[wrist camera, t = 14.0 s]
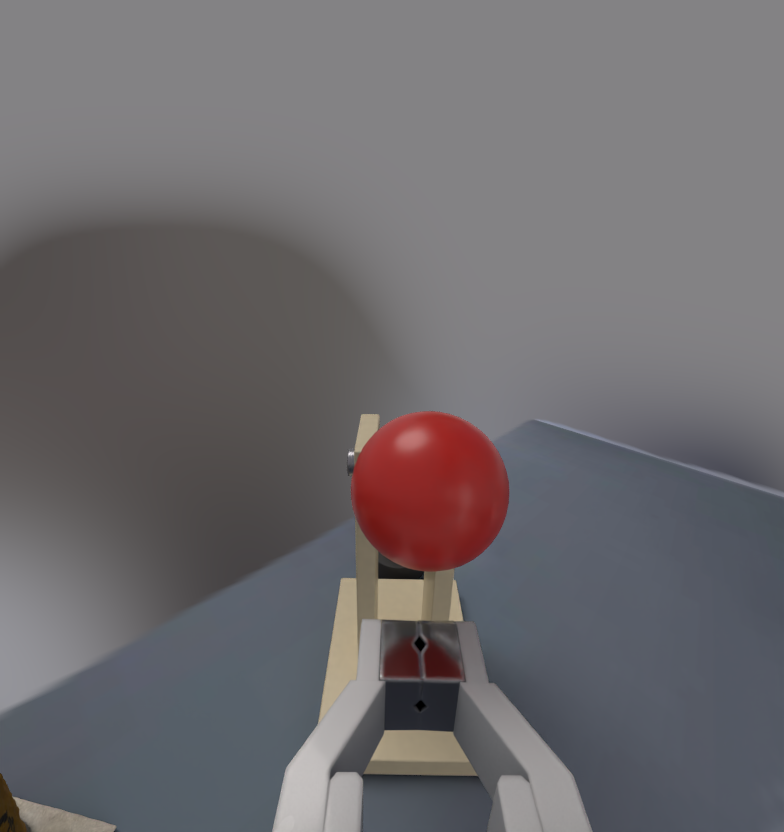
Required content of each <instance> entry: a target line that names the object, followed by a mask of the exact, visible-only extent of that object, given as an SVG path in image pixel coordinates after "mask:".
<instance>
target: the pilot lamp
mask: <svg viewBox="0 0 784 832" xmlns="http://www.w3.org/2000/svg"><path fill="white" fill-rule="evenodd" d="M423 573H424V571H418V570H413V569H409V568H406V567H403V566H401V565H399V564H396V563H394V562H393V561H391V560H389V559H388V558H386V557H385V556H383V555H382V554H381V553H380V552H379V551H378V578H379V579H416V580H417V579H418V578H419V577H421V575H422V574H423Z"/></svg>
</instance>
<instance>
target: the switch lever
mask: <svg viewBox="0 0 784 832" xmlns="http://www.w3.org/2000/svg"><path fill="white" fill-rule="evenodd" d="M351 500H352V506H353V510H354V514H355V517H356V520H357V522H358V524H359V526H360V529H361V530H362V532H363V533H364V535H365V537H366V538H367V540H368V541H369V542H370V543H371V544H372V546H373V547H374V548H375V549H377V550H378V551H379V552H380V553H381V554H382V555H383V556H385V557H386V558H388V559H389V560H391V561H393V562H394V563H396V564H399V565H401V566H403V567H406V568H409V569H413V570H418V571H426V572H436V571H445V570H450V569H453V568H456V567H459V566H462V565H464V564H466V563H468V562H470V561H472V560H473V559H475V558H476V557H477V556H479V555H480V554H481V553H483V552H484V550H485V549H486V548H487V547H488V546H489V545H490V544H491V543H492V542H493V540H494V539H495V538H496V536H497V535H498V533H499V531H500V529H501V527H502V525H503V522H504V520H505V517H506V513H507V508H508V504H509V481H508V477H507V472H506V469H505V466H504V463H503V460H502V458H501V456H500V454H499V452H498V451H497V449H496V448H495V446H494V445H493V443H492V442H491V441H490V440H489V439H488V437H487V436H486V435H485V434H484V433H483V432H481V431H480V430H479V429H478V428H477V427H475V426H474V425H472V424H471V423H469V422H468V421H466V420H464V419H462V418H459V417H457V416H454V415H450V414H447V413H442V412H435V411H422V412H415V413H410V414H407V415H404V416H401V417H398V418H396V419H394V420H392V421H390V422H389V423H387V424H386V425H384V426H383V427H381V428H380V429H379V430H378V431H377V432H375V433H374V435H373V436H372V437H371V438H370V439H369V440H368V441H367V443H366V444H365V446H364V447H363V448H362V450H361V452H360V454H359V456H358V458H357V461H356V464H355V467H354V470H353V475H352V482H351Z"/></svg>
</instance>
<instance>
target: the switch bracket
mask: <svg viewBox="0 0 784 832" xmlns="http://www.w3.org/2000/svg"><path fill="white" fill-rule="evenodd" d="M379 419H380V418H379V415H378V414H377V415H376V414H374V415H373V414H362V415H361V419H360V424H359V429H358V434H357V440H356V445H355V449H349V451H348V457H347V473H348V476H352V475H353V470H354V467H355V464H356V461H357V458H358V456H359V454H360V452H361V450H362V448H363V447H364V446H365V444H366V443H367V441H368V440H369V439H370V438H371V437H372V436H373V435H374V433H375V432H377V431H378V430H379V425H380V424H379V423H380V420H379ZM355 534H356V578H342V579H341V583H340V590H339V596H338V602H337V608H336V615H335V621H334V627H333V633H332V640H331V646H330V652H329V659H328V665H327V671H326V677H325V684H324V690H323V696H322V702H321V709H320V715H319V721H318V724H319V722H320V721H321V720H322V718H323V717H324V716H325V714H326V713H327V711H328V710H329V709H330V707H331V706H332V705H333V703H334V702H335V701H336V699H337V698H338V696H339V695H340V694H341V692H342V691H343V690H344V688H345V687H346V685H347V684H348V683H349V681H350V680H356V676H357V665H358V654H359V642H360V631H361V623H362V619H381V622H382V619H384V620H404V621H418V620H425V621H463V615H462V610H461V605H460V600H459V594H458V589H457V584H456V580H453V578H454V568H453V569H450V570H445V571H436V572H426V571H424V580H416V579H378V550H377V549H375V548H374V547H373V546H372V544H371V543H370V542H369V541H368V540H367V538H366V537H365V535H364V533H363V532H362V530H361V529H360V526H359V524H358V522H357V520H356V517H355ZM363 774H393V775H454V776H478V775H477V774H476V772H475V770H474V769H473V767H472V765H471V763H470V762H469V760H468V758H467V757H466V755H465V753H464V752H463V750H462V748H461V747H460V745H459V743H458V741H457V740H456V738H455V736H454V735H453V732H445V731H426V730H384V735H383V737H382V739H381V740H380V742H379V744H378V746H377V748H376V750H375V752H374V754H373V756H372V758H371V760H370V762H369V764H368V766H367V768H366V770H365V771H364V773H363Z"/></svg>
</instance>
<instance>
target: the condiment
mask: <svg viewBox="0 0 784 832" xmlns="http://www.w3.org/2000/svg"><path fill="white" fill-rule="evenodd" d="M115 828H116V826H115V825H111V824H108V823H105V822H102V821H99V820H94V819H90V818H87V817H84V816H82V815H79V814H72V813H69V812H66V811H64V810H61V809H56V808H52V807H49V806H45V805H41V804H37V803H33V802H29V801H26V800H23V799H20V798H16V797H12V793H11V792H10V791H9V788H8V786H7V784H6V781H5V780H4V779H3V776H2V774H0V832H113V831H114V830H115Z"/></svg>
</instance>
